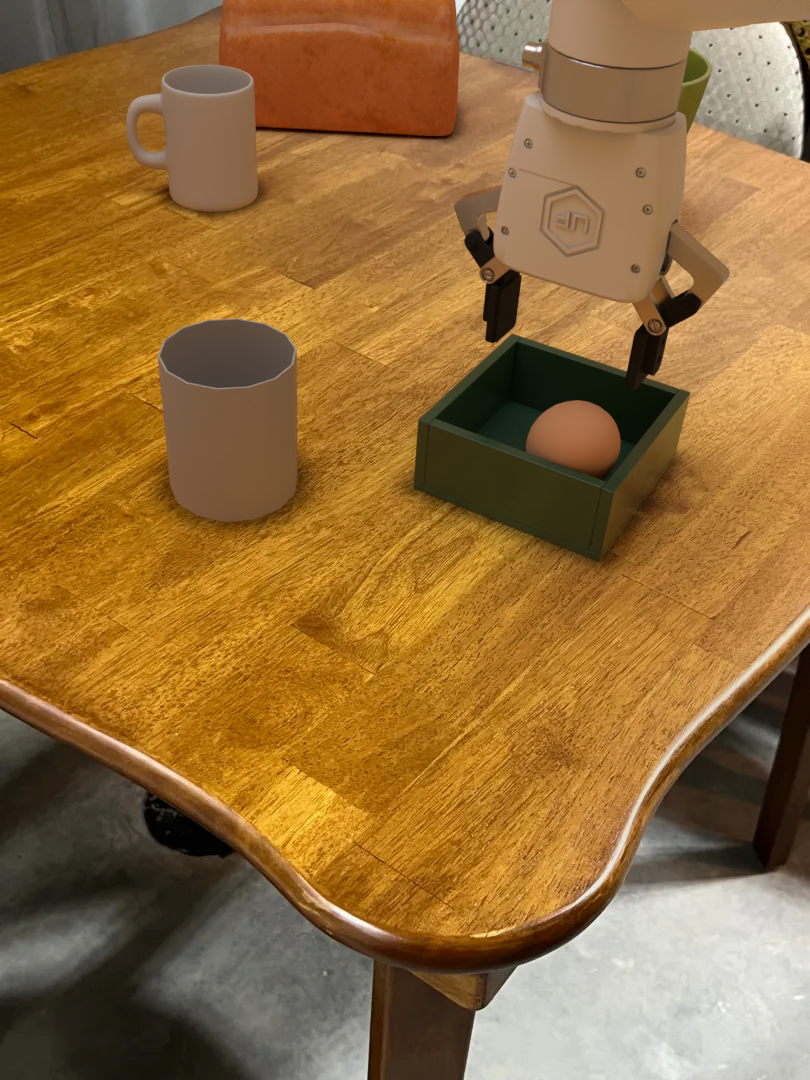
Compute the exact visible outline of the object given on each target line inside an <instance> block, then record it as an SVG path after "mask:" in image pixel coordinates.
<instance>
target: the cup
mask: <svg viewBox="0 0 810 1080" xmlns="http://www.w3.org/2000/svg"><path fill="white" fill-rule="evenodd" d="M297 359H298V349H297V347H296V346H295V344H294V342H293V341H292V340H291V338H290V337H289V336H288V334H287V333H286V332H283V331H281V330H279V329H277V328H276V327H274V326H271V325H269V324H268V323H264V322H260V321H254V320H249V319H243V318H238V317H237V318H219V319H218V318H217V319H215V318H214V319H207V320H203V321H199V322H195V323H191V324H188V325H185V326H182V327H180V328H179V329H177V331H175V332H173V333H171V334H170V335H169V336H168V337H166V338H165V339H163V341H162V344H161V346H160V349H159V351H158V354H157V363H158V373H159V374H158V375H159V384H160V393H161V394H160V395H161V405H162V413H163V414H162V415H163V426H164V427H163V428H164V436H165V447H166V455H167V466H168V467H167V468H168V477H169V488H170V489H171V492H172V494H173V496H174V498H175V500H176V503H177V505H180V506H181V507H183V508H185V509H186V510H187V511H189V512H191V513H192V514H193V515H195V516H196V517H201V518H205V519H209V520H215V521H218V522H222V523H227V522H228V523H229V522H240V521H241V522H242V521H254V520H256V519H259V518H262V517H265V516H267V515H270V514H272V513H275V512H277V511H280V510H282V508H283V507H284V506H285V505H286V504H287V503H288V502H289V501H290V500H291V499H292V498H293V497H294V496H295V494H296V490H297V484H298V477H299V476H298V475H299V474H298V473H299V471H298V468H299V467H298V360H297Z"/></svg>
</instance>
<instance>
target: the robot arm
mask: <svg viewBox="0 0 810 1080" xmlns="http://www.w3.org/2000/svg"><path fill="white" fill-rule="evenodd" d="M550 8H551V10H550V18H549V25H548V33H547V38H546V39H544V40H543V41H540V42H539V43H538V42H534V41H530V40H529V41H528V42H527V43H526V44H525V45H524V47H523V51H522V56H521V58H522V59H521V62H522V66H523V67H527V68H531V69H533V71H534V72H536V73H538V82H537V83H538V84H537V88H538V90H537V91H534V92H532V93H530V94H528V95H527V96H526V97H525V99H524V101H523V104H522V108H521V111H520V113H519V117H518V120H517V123H516V126H515V129H514V133H513V137H512V141H511V145H510V149H509V152H508V157H507V161H506V166H505V169H504V175H503V179H502V184H499V185H495V186H492V187H488V188H485V189H481V190H477V191H474V192H469V193H467V194H465V195H464V196H462V197H460V198H459V199H458V200H456V201H455V203H454V206H453V208H454V212H455V215H456V218H457V220H458V223H459V226H460V229H461V231H462V233H464V241H463V243H464V246H465V248H466V249H467V251H468V252H469V254H470V255H471V258H473V260H474V262H475V263H476V264H477V266H478V267H479V271H478V275H479V278H480V280H481V281H482V282H483V283H485V290H484V291H485V292H484V302H483V309H482V320H483V322H485V323H486V326H485V327H486V328H485V337H484V340H485V342H487V343H490V344H495V343H498V342H499V341H501V340H502V338H504V337H505V336H506V335H507V334H508V333H509V332H510V331H512V330H513V329H514V327H515V326H516V324H517V317H518V310H519V303H520V302H519V301H520V293H521V285H522V277H523V276H522V275H525V276H529V277H531V278H534V279H538V280H541V281H544V282H547V283H550V284H554V285H557V286H561V287H564V288H567V289H570V290H573V291H576V292H580V293H583V294H587V295H589V296H593V297H597V298H600V299H603V300H607V301H611V302H615V303H622V304H632V305H633V307H634V309H635V311H636V313H637V315H638V317H639V319H640V320H641V323H642V324H641V325H640V326H639V327H637V329H636V330H635V332H634V334H633V338H632V344H631V348H630V353H629V359H628V364H627V369H626V371H627V373H626V378H625V383H624V385H627V388H629V389H632V390H636V389H637V388H638V386H639V385H640V384H641V383H642V382H643V381H644V379H645V378H648V376H651V377H654V376H655V375H656V374H657V373H658V372H659V370H660V369H661V365H662V362H663V358H664V354H665V349H666V345H667V341H668V336H669V331H670V328H672V327H674V326H676V325H678V324H680V323H681V322H683V321H685V320H687V319H689V318H691V317H693V316H695V315H696V314H697V313H698V312H699V311H700V309H701V308H703V306H704V305H706V303H707V302H708V301H709V300H710V299H711V298H712V297H713V296H714V295H715V293H716V292H717V291H718V290H719V289H720V288H721V287H722V286H723V285H724V284H725V283H726V282H727V280H728V279H729V277H730V273H731V272H730V269H729V268H728V266H726V265H725V263H724V262H722V261H721V260H720V259H719V258H718V257H716V255H714V254H713V253H712V252H710V250H708V249H707V247H705V246H704V245H703V244H702V243H700V242H699V241H698V240H697V239H696V237H694V236H693V235H691V233H690V232H688V231H687V230H686V229H685V228H684V227H682V225H680V224H681V218H682V211H683V204H684V203H683V202H684V194H685V184H686V169H687V150H688V149H687V148H688V147H687V145H688V141H687V140H688V137H687V136H688V134H687V128H686V117H685V115H684V114H682V113H680V112H677V108H678V103H679V98H680V93H681V88H682V83H683V78H684V73H685V68H686V63H687V58H688V52H689V48H690V47H691V41H692V36H693V32H702V31H712V30H713V31H714V30H723V29H735V28H736V29H737V28H742V27H747V26H751V25H760V24H772V23H783V22H798V21H810V0H551V7H550ZM494 212H496V216H495V223H494V231H493V229H492V228H491V227H490V226H488V224H487V223H488V220H487V216H486V214H491V213H494ZM673 261H674V262H675V263H677V265H678V266H680V267H681V268H682V269H683V270H685V271H686V272H687V273H688V274H689V275H690V276H691V277H692V279H693V284H692V285H691V287H690V288H688V289H686V290H685V291H683V292H681V293H679V294H677V295H675V293H674V292H673V289H672V287H671V285H670V284H669V282H668V280H667V278H666V276H667V274H668V273H669V272H670V270H671V267H672V264H673Z"/></svg>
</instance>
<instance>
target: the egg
mask: <svg viewBox="0 0 810 1080" xmlns="http://www.w3.org/2000/svg"><path fill="white" fill-rule="evenodd" d="M620 443H621V440H620V434H619V431H618V427H617V425H616V423H615V421H614V419H613V418H612V417H611V416H610V415H609V413H607V412H606V411H605V410H603V409H602V408H601V407H600V406H597V405H595V404H593V403H590V402H587V401H580V400H575V401H567V402H563V403H560V404H556V405H555V406H553V407H551V408H549V409H548V410H546V411H545V412H544V413H542V414H541V415H540V416H539V418H538V419H537V420H536V421H535V423H534V424H533V425H532V427H531V429H530V432H529V434H528V437H527V442H526V452H527V453H530V454H532V455H535V456H538V457H541V458H543V459H546V460H549V461H551V462H554V463H557V464H559V465H562V466H565V467H568V468H570V469H573V470H576V471H578V472H581V473H584V474H586V475H589V476H592V477H595V478H597V479H600V480H603V479H604V478H606V476H607V475H608V474H609V473H610V472H611V470H612V469H613V467H614V466H615V464H616V462H617V459H618V457H619V454H620Z"/></svg>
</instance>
